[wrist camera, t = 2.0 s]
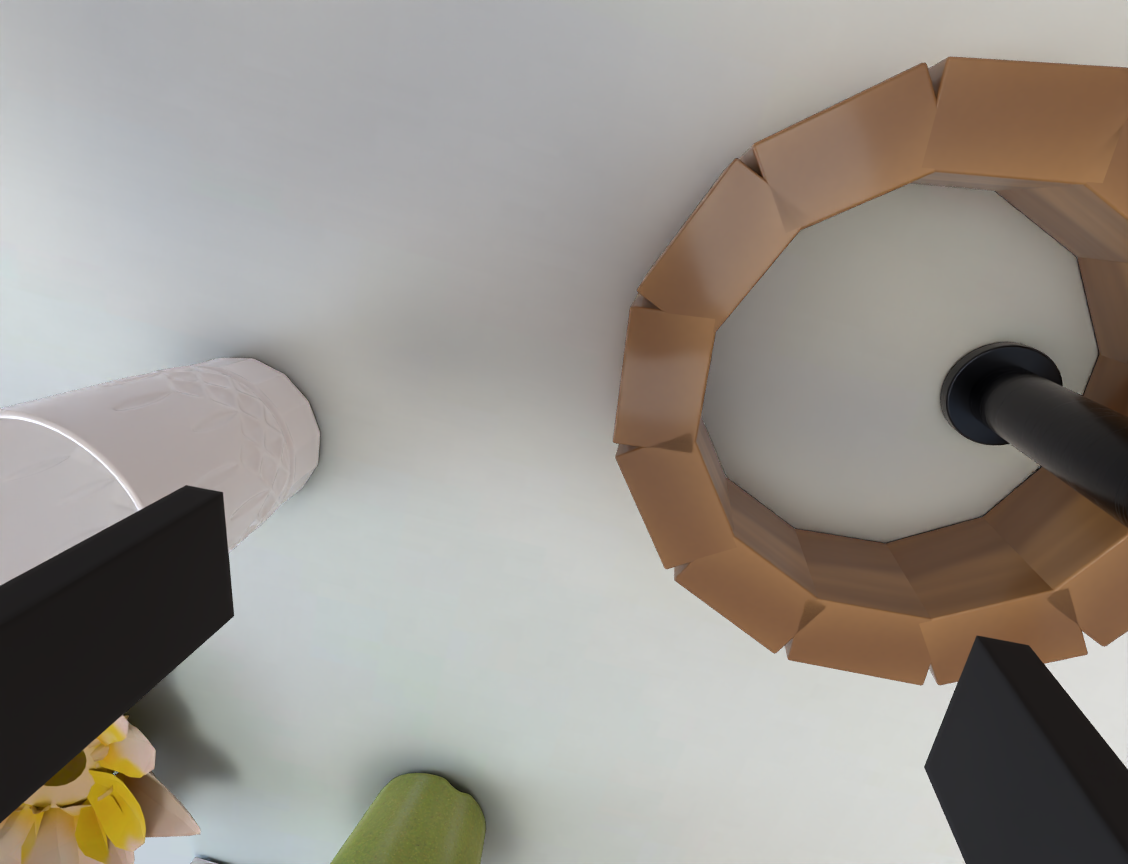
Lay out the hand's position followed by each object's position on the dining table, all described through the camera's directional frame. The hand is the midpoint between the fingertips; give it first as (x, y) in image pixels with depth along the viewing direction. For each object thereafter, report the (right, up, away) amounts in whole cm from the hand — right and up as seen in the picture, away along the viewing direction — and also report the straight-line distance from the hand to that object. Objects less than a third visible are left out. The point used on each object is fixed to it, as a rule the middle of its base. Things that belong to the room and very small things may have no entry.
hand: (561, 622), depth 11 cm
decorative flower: (-25, -14, +26) cm, 39 cm away
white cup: (-14, +4, +17) cm, 23 cm away
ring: (+12, +5, +12) cm, 17 cm away
